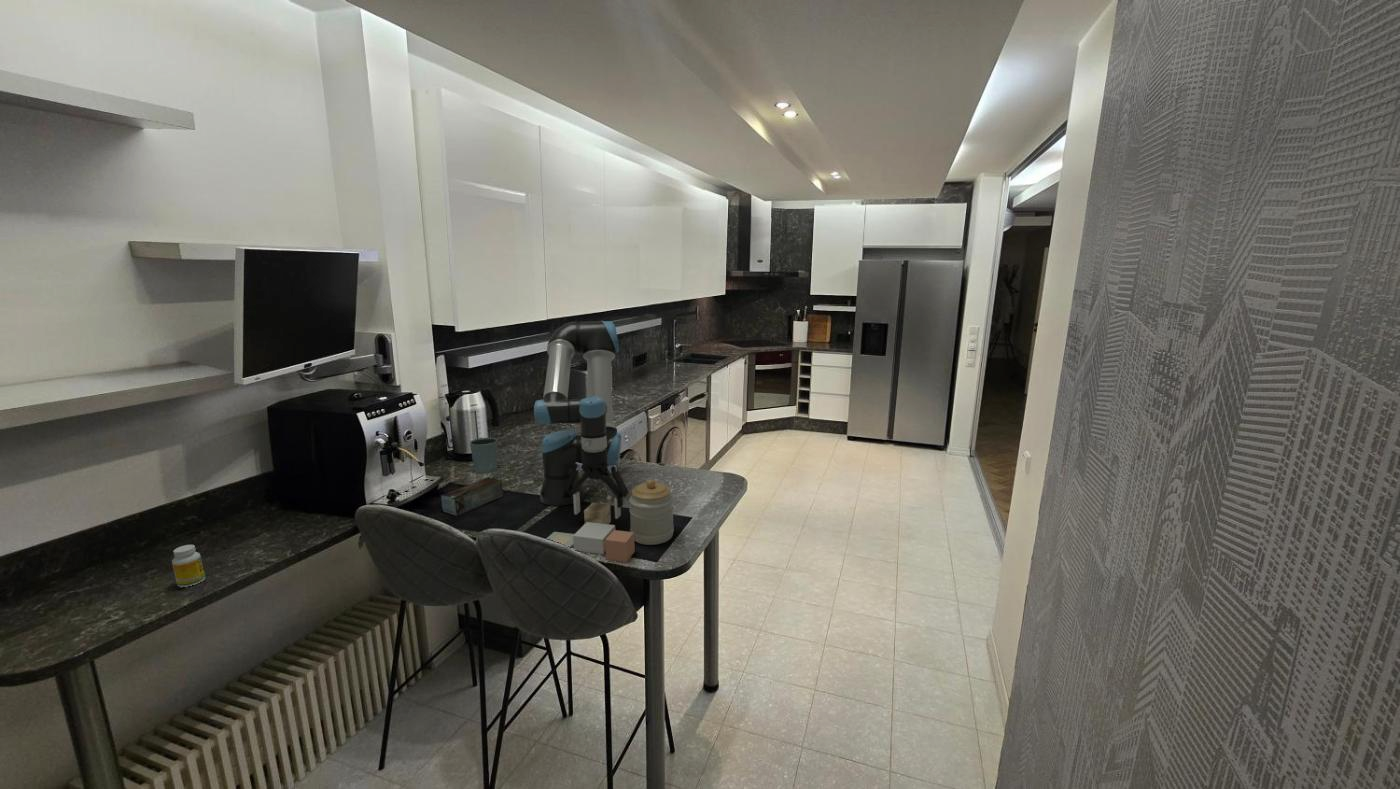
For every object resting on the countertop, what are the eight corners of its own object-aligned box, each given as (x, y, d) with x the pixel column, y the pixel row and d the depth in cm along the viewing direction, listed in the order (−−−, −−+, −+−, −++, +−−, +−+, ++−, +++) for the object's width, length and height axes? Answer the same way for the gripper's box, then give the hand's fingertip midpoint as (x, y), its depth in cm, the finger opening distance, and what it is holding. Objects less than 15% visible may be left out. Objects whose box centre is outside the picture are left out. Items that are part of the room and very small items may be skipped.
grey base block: (573, 550, 157) (572, 535, 156) (587, 535, 165) (586, 522, 164) (603, 554, 155) (602, 539, 154) (615, 539, 163) (615, 525, 162)
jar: (621, 538, 163) (619, 482, 160) (647, 522, 174) (646, 469, 170) (657, 550, 157) (655, 491, 153) (682, 531, 168) (681, 477, 164)
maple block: (585, 528, 170) (584, 510, 169) (593, 520, 176) (592, 502, 175) (603, 530, 169) (602, 512, 167) (610, 522, 174) (610, 504, 173)
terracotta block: (606, 559, 152) (605, 539, 150) (614, 549, 157) (614, 530, 156) (626, 562, 150) (626, 542, 149) (634, 551, 156) (633, 532, 155)
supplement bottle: (176, 582, 141) (168, 548, 139) (204, 574, 145) (196, 540, 143) (178, 590, 138) (170, 555, 136) (207, 582, 142) (199, 547, 139)
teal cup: (467, 472, 217) (464, 443, 215) (483, 464, 227) (481, 436, 224) (488, 475, 215) (486, 445, 212) (505, 466, 224) (502, 438, 221)
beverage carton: (441, 511, 183) (439, 493, 181) (489, 492, 199) (488, 475, 197) (456, 517, 179) (454, 498, 177) (504, 496, 195) (503, 479, 193)
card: (538, 547, 158) (538, 545, 158) (554, 533, 167) (554, 531, 167) (567, 551, 156) (567, 549, 156) (581, 536, 165) (581, 534, 164)
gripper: (550, 449, 166) (555, 515, 170) (628, 455, 160) (630, 523, 165) (562, 442, 173) (566, 506, 178) (637, 448, 167) (639, 513, 172)
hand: (597, 514), depth 171 cm, fingers open, 13 cm apart
